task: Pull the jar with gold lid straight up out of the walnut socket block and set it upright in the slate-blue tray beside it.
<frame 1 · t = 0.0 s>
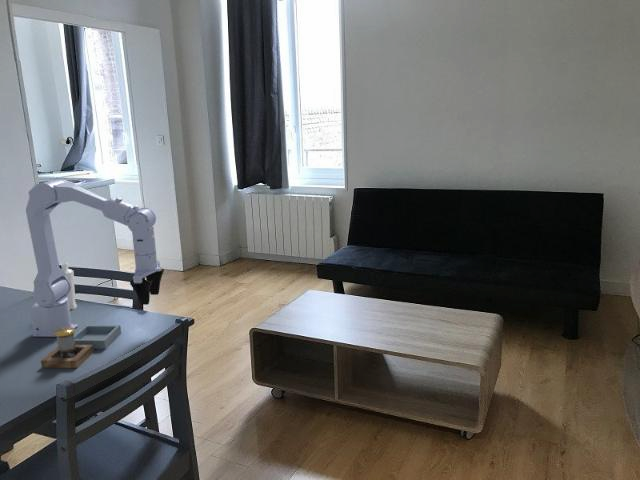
hand: (149, 299, 149), 10 cm above the table, tool pointing down, fingers open, 7 cm apart
jar with gold lid: (66, 345, 135), in the socket block
socket block: (68, 359, 136), on the table
tray: (96, 340, 146), on the table
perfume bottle: (70, 308, 171), on the table
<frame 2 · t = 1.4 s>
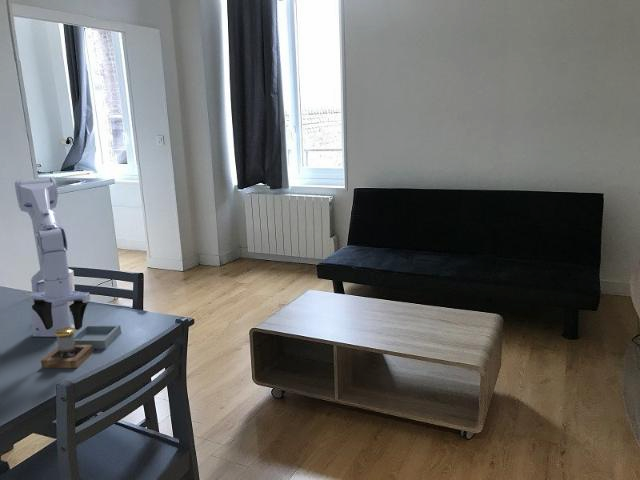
hand: (64, 328, 133), 9 cm above the table, tool pointing down, fingers open, 7 cm apart
nothing on the table moved.
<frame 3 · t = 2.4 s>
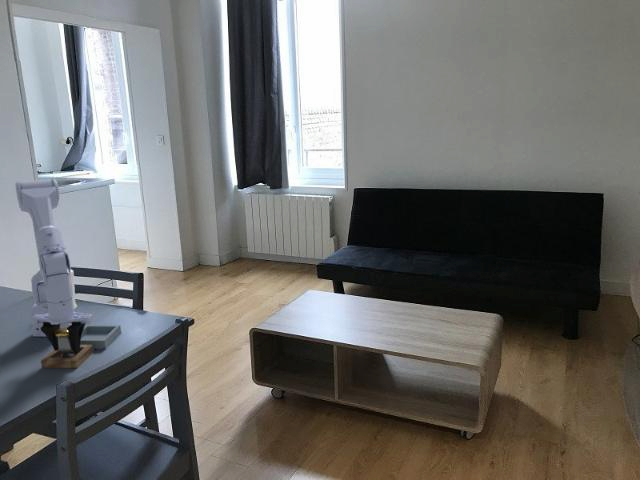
hand: (67, 349, 135), 3 cm above the table, tool pointing down, fingers closed on jar with gold lid, 4 cm apart
jar with gold lid: (66, 345, 135), in the socket block, touching gripper
everything else where it was.
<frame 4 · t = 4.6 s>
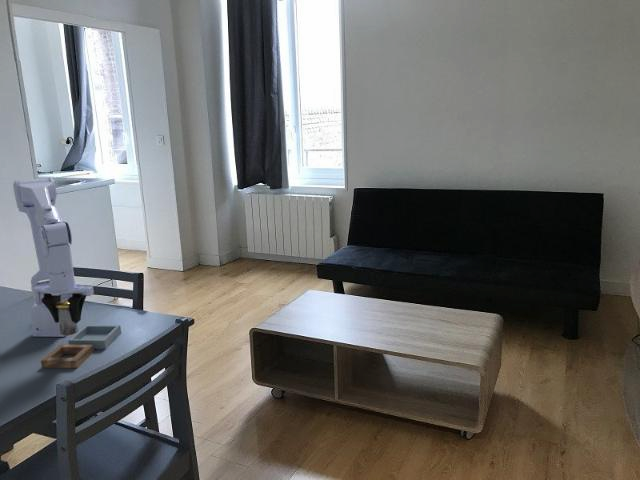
hand: (68, 321, 135), 10 cm above the table, tool pointing down, fingers closed on jar with gold lid, 4 cm apart
jar with gold lid: (67, 317, 135), point 11 cm above the table, touching gripper
everything else where it was.
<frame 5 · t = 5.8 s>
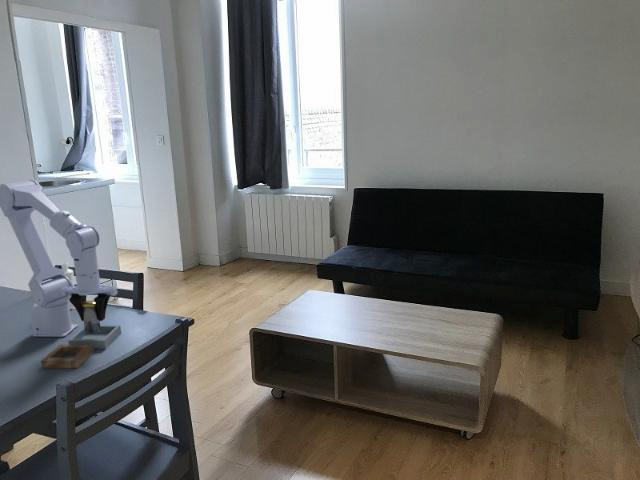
hand: (93, 319, 145), 6 cm above the table, tool pointing down, fingers closed on jar with gold lid, 4 cm apart
jar with gold lid: (91, 316, 144), point 7 cm above the table, tilted 6°, touching gripper
everything else where it was.
when the fingers open (5 cm above the table, at t = 6.6 s): jar with gold lid drops 1 cm, resting on tray.
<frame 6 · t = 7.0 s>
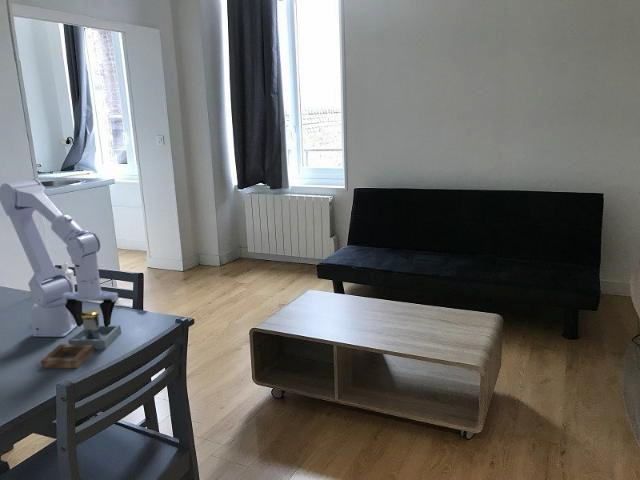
hand: (94, 325, 145), 5 cm above the table, tool pointing down, fingers open, 7 cm apart
jar with gold lid: (91, 326, 144), in the tray, point 5 cm above the table
everything else where it was.
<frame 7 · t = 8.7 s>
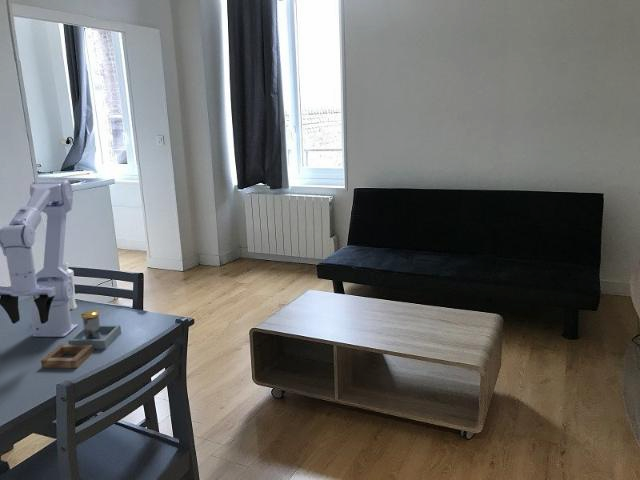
hand: (30, 322, 136), 9 cm above the table, tool pointing down, fingers open, 7 cm apart
nothing on the table moved.
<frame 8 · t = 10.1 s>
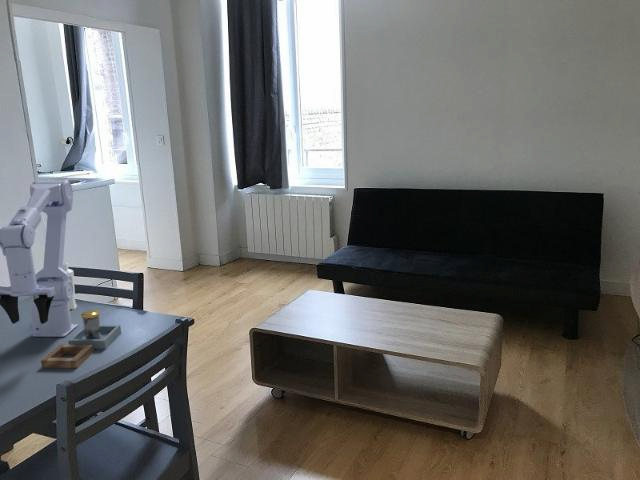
hand: (30, 322, 136), 9 cm above the table, tool pointing down, fingers open, 7 cm apart
nothing on the table moved.
at the end: jar with gold lid 0.9 cm off-centre on the tray, point 4.7 cm above the tray's base; jar with gold lid tilted 2°; the gripper is holding nothing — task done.
